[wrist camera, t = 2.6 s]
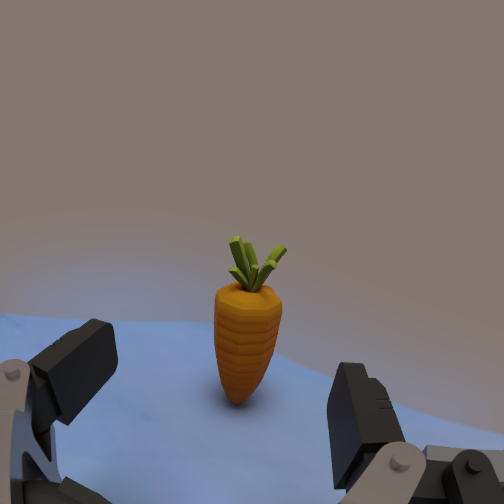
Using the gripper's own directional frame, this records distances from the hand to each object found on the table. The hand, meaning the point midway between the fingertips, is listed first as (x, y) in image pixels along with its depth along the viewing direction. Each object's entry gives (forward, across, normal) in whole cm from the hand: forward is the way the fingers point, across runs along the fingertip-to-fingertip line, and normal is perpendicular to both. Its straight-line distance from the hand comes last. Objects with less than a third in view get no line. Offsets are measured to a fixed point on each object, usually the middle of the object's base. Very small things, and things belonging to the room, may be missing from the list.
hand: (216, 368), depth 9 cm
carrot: (+12, 0, +13) cm, 17 cm away
